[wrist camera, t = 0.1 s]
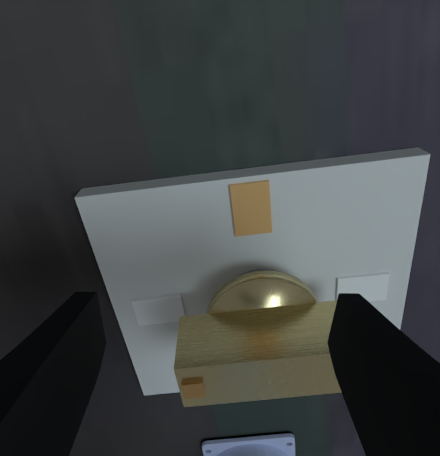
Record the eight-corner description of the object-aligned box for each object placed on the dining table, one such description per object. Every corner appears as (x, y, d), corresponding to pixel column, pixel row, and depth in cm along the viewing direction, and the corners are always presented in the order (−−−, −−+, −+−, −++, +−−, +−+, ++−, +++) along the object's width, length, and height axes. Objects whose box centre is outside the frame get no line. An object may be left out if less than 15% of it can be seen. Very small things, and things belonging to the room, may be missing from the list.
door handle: (338, 346, 22) (366, 416, 18) (193, 361, 22) (189, 432, 18) (343, 261, 19) (378, 323, 15) (175, 280, 19) (165, 344, 15)
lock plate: (385, 357, 26) (400, 386, 24) (146, 381, 27) (141, 410, 25) (418, 147, 19) (444, 162, 17) (81, 188, 19) (66, 207, 17)
